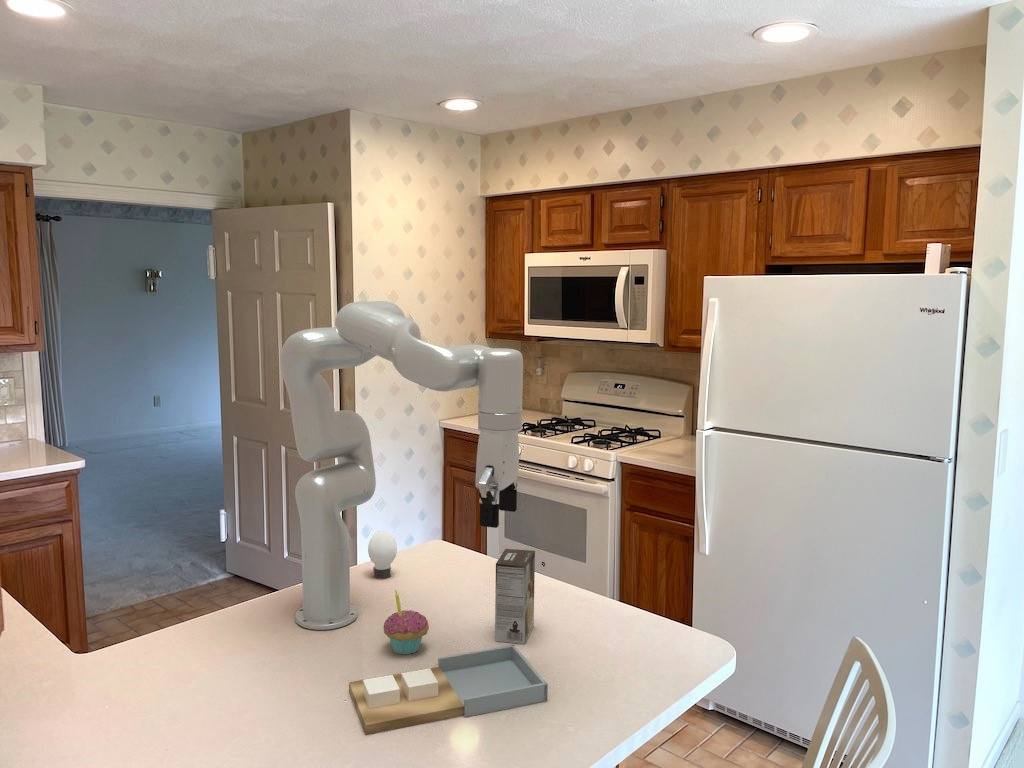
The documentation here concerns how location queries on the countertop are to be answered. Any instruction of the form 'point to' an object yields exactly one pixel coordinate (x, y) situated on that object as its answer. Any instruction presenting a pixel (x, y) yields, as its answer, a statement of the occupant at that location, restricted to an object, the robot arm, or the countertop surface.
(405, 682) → the tile
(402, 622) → the cupcake
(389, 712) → the board
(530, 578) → the coffee box
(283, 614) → the countertop surface
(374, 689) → the tile
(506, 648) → the tray
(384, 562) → the light bulb
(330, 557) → the robot arm
